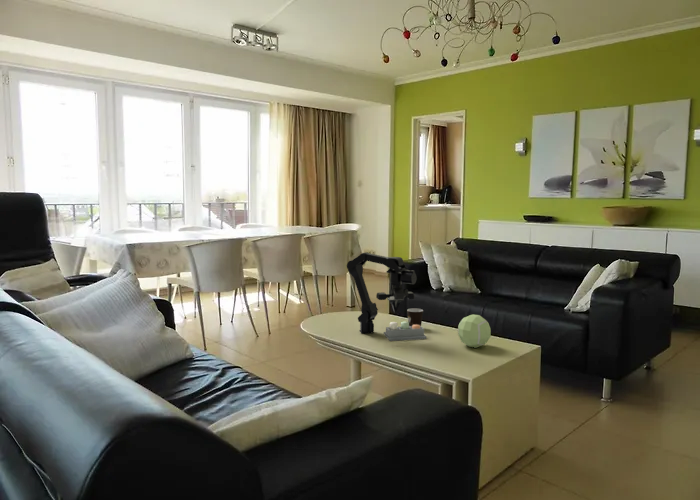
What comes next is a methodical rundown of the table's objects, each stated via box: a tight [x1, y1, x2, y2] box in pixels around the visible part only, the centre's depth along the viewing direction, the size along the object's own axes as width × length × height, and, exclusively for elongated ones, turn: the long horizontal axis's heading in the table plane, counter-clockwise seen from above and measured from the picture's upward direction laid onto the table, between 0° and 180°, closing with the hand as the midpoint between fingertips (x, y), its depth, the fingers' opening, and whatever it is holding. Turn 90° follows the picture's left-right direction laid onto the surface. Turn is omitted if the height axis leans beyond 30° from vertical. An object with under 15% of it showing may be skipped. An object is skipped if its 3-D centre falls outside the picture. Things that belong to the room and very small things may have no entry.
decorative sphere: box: [457, 314, 492, 349], centre depth 248 cm, size 15×15×15 cm
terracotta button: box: [412, 325, 420, 329], centre depth 267 cm, size 4×4×4 cm
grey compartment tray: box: [383, 325, 428, 342], centre depth 267 cm, size 19×13×4 cm
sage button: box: [400, 320, 409, 329], centre depth 266 cm, size 4×4×4 cm
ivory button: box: [389, 321, 398, 330], centre depth 265 cm, size 4×4×4 cm
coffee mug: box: [406, 308, 424, 327], centre depth 285 cm, size 12×9×10 cm
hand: (395, 312), depth 265 cm, fingers closed
